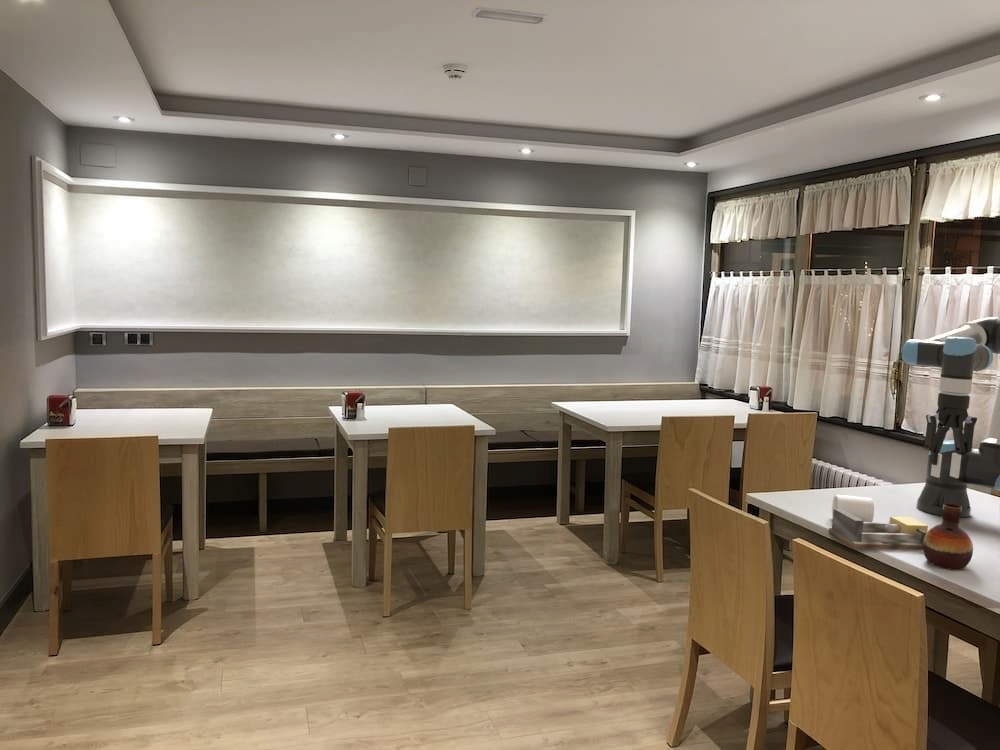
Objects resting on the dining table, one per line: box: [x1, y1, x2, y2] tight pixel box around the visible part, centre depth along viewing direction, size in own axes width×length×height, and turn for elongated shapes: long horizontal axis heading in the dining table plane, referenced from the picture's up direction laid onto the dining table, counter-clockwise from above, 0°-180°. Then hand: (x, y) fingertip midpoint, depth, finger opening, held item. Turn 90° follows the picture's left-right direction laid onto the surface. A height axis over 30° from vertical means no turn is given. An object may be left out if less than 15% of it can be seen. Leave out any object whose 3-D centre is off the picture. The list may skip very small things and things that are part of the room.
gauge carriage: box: [885, 516, 929, 543], centre depth 214 cm, size 9×11×4 cm
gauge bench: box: [828, 509, 923, 551], centre depth 215 cm, size 24×14×7 cm, turn 95°
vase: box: [922, 504, 974, 571], centre depth 197 cm, size 11×11×15 cm
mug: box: [831, 494, 875, 522], centre depth 234 cm, size 12×10×8 cm
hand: (944, 476), depth 215 cm, fingers open, 5 cm apart
